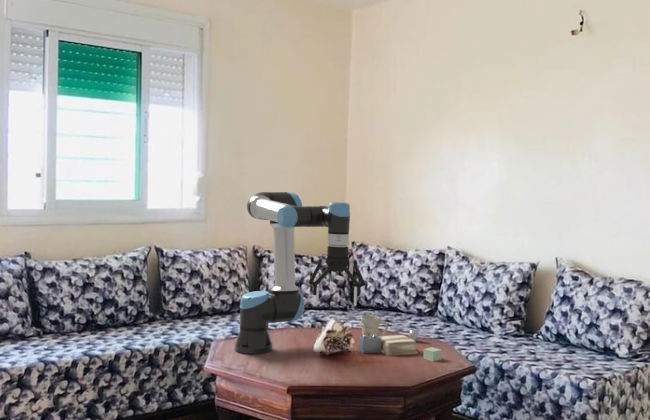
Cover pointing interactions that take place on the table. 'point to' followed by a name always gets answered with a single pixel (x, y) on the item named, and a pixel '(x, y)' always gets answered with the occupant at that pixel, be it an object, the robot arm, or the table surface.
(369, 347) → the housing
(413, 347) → the plinth
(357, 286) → the robot arm
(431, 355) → the sage block
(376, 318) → the mug
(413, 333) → the grey bushing
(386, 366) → the table surface
